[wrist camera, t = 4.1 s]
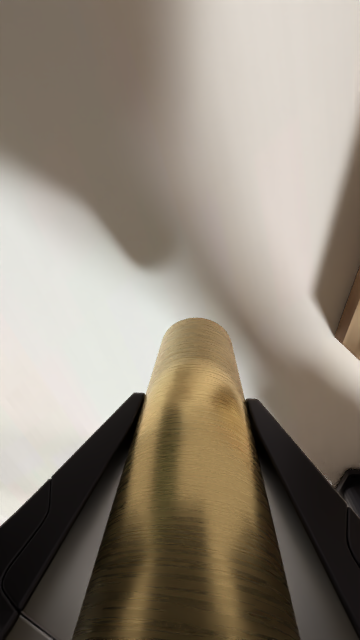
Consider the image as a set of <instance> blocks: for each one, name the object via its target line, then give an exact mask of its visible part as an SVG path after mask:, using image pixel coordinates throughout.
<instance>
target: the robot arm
mask: <svg viewBox="0 0 360 640" xmlns="http://www.w3.org/2000/svg"><path fill="white" fill-rule="evenodd" d="M144 399H145V394H144V393H133V394H132V395H131V396H130V397H129V398H128V399H127V400H126V401H125V402H124V403H123V404H122V405H121V406H120V407H119V408H118V409H117V410H116V411H115V412H114V413H113V414H112V416H111V417H110V418H109V419H108V420H107V421H106V422H105V423H104V424H103V425H102V426H101V427H100V428H99V429H98V430H97V431H96V432H95V433H94V434H93V435H92V436H91V437H90V438H89V439H88V440H87V441H86V442H85V443H84V444H83V445H82V446H81V447H80V448H79V449H78V450H77V451H76V452H75V453H74V454H73V455H72V456H71V457H70V458H69V459H68V460H67V461H66V462H65V463H64V464H63V465H62V466H61V467H60V468H59V469H58V470H57V471H56V472H55V474H54V475H53V476H52V477H51V479H48V480H47V482H46V483H45V484H44V485H43V486H42V487H41V488H40V489H39V490H38V491H37V492H36V493H35V494H34V495H33V496H32V497H31V498H30V499H29V500H28V501H26V502H25V503H24V504H23V505H22V506H21V507H20V508H19V509H18V510H17V511H16V512H15V513H14V514H13V515H12V516H11V517H10V518H9V519H8V520H7V521H5V522H4V523H3V524H2V525H1V526H0V640H72V637H73V633H74V630H75V627H76V624H77V620H78V617H79V614H80V610H81V607H82V604H83V600H84V597H85V594H86V590H87V587H88V584H89V581H90V577H91V574H92V571H93V567H94V564H95V561H96V557H97V554H98V551H99V548H100V544H101V541H102V538H103V534H104V531H105V528H106V524H107V521H108V518H109V514H110V511H111V508H112V505H113V501H114V498H115V495H116V491H117V488H118V485H119V481H120V478H121V475H122V472H123V468H124V465H125V462H126V458H127V455H128V452H129V448H130V445H131V442H132V438H133V435H134V432H135V429H136V425H137V422H138V419H139V415H140V412H141V409H142V405H143V402H144ZM245 403H246V407H247V411H248V416H249V420H250V424H251V429H252V433H253V437H254V441H255V446H256V450H257V454H258V459H259V463H260V467H261V472H262V476H263V480H264V484H265V489H266V493H267V497H268V502H269V506H270V510H271V515H272V519H273V523H274V527H275V532H276V536H277V540H278V545H279V549H280V553H281V558H282V562H283V566H284V570H285V575H286V579H287V583H288V588H289V592H290V596H291V601H292V605H293V609H294V613H295V618H296V622H297V626H298V631H299V635H300V639H301V640H360V470H348V471H346V472H345V474H344V476H343V477H342V479H341V481H340V483H339V484H338V486H337V488H336V489H334V488H333V486H332V485H331V484H330V483H329V482H328V481H327V479H326V478H325V477H324V476H323V475H322V474H321V472H320V471H319V470H318V469H317V468H316V467H315V465H314V464H313V463H312V462H311V461H310V460H309V458H308V457H307V456H306V455H305V454H304V453H303V451H302V450H301V449H300V448H299V447H298V446H297V444H296V443H295V442H294V441H293V440H292V439H291V437H290V436H289V435H288V434H287V433H286V432H285V430H284V429H283V428H282V427H281V426H280V425H279V423H278V422H277V421H276V420H275V419H274V418H273V416H272V415H271V414H270V413H269V412H268V411H267V409H266V408H265V407H264V406H263V405H262V404H261V402H260V401H259V400H257V399H246V400H245Z"/></svg>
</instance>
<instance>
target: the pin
mask: <svg viewBox="0 0 360 640" xmlns="http://www.w3.org/2000/svg"><path fill="white" fill-rule="evenodd" d="M72 640H301V639H300V635H299V631H298V626H297V622H296V618H295V613H294V609H293V605H292V601H291V596H290V592H289V588H288V583H287V579H286V575H285V570H284V566H283V562H282V558H281V553H280V549H279V545H278V540H277V536H276V532H275V527H274V523H273V519H272V515H271V510H270V506H269V502H268V497H267V493H266V489H265V484H264V480H263V476H262V472H261V467H260V463H259V459H258V454H257V450H256V446H255V441H254V437H253V433H252V429H251V424H250V420H249V416H248V411H247V407H246V403H245V398H244V394H243V390H242V386H241V381H240V377H239V373H238V368H237V364H236V360H235V355H234V351H233V347H232V343H231V339H230V337H229V335H228V333H227V332H226V331H225V330H224V329H223V328H222V327H221V326H220V325H218V324H217V323H215V322H213V321H211V320H208V319H203V318H188V319H184V320H181V321H179V322H177V323H175V324H174V325H172V326H171V327H170V328H169V329H168V330H167V331H166V333H165V335H164V337H163V339H162V343H161V346H160V349H159V353H158V356H157V359H156V362H155V366H154V369H153V372H152V376H151V379H150V382H149V386H148V389H147V392H146V395H145V399H144V402H143V405H142V409H141V412H140V415H139V419H138V422H137V425H136V429H135V432H134V435H133V438H132V442H131V445H130V448H129V452H128V455H127V458H126V462H125V465H124V468H123V472H122V475H121V478H120V481H119V485H118V488H117V491H116V495H115V498H114V501H113V505H112V508H111V511H110V514H109V518H108V521H107V524H106V528H105V531H104V534H103V538H102V541H101V544H100V548H99V551H98V554H97V557H96V561H95V564H94V567H93V571H92V574H91V577H90V581H89V584H88V587H87V590H86V594H85V597H84V600H83V604H82V607H81V610H80V614H79V617H78V620H77V624H76V627H75V630H74V633H73V637H72Z"/></svg>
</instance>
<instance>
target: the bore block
mask: <svg viewBox="0 0 360 640" xmlns="http://www.w3.org/2000/svg"><path fill="white" fill-rule="evenodd" d="M334 337H335V338H336V339H337V340H338V341H339V342H340V343H342V344H343V345H344V346H345V347H346V348H347V349H348V350H349V351H350V352H351V353H352V354H353V355H354V356H355V357H356V358H358V359H359V360H360V267H359V270H358V272H357V275H356V278H355V281H354V284H353V286H352V289H351V292H350V295H349V297H348V300H347V303H346V306H345V309H344V311H343V314H342V317H341V320H340V322H339V325H338V328H337V331H336V334H335V336H334Z"/></svg>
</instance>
